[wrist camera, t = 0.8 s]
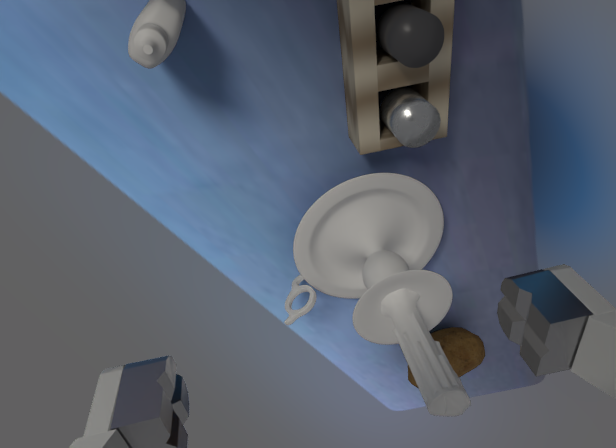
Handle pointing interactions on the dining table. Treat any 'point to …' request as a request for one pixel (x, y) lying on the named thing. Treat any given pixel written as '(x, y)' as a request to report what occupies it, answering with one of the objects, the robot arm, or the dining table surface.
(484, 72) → the dining table surface
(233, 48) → the dining table surface
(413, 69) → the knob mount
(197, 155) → the dining table surface
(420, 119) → the steel knob
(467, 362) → the potato
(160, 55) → the eye dropper bottle
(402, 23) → the black knob middle
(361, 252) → the candlestick
